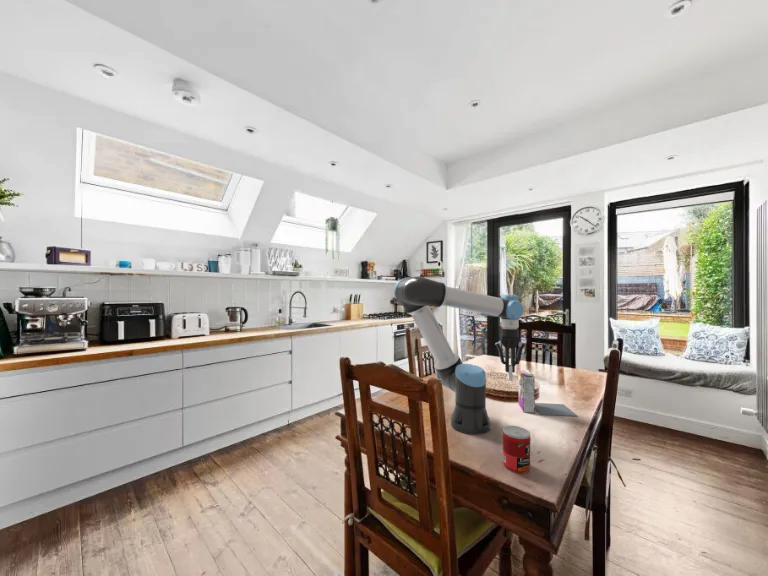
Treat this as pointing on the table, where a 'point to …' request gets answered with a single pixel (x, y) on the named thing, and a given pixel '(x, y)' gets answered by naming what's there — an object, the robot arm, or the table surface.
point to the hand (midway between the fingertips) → (510, 379)
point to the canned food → (516, 449)
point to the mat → (554, 409)
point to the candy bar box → (526, 391)
